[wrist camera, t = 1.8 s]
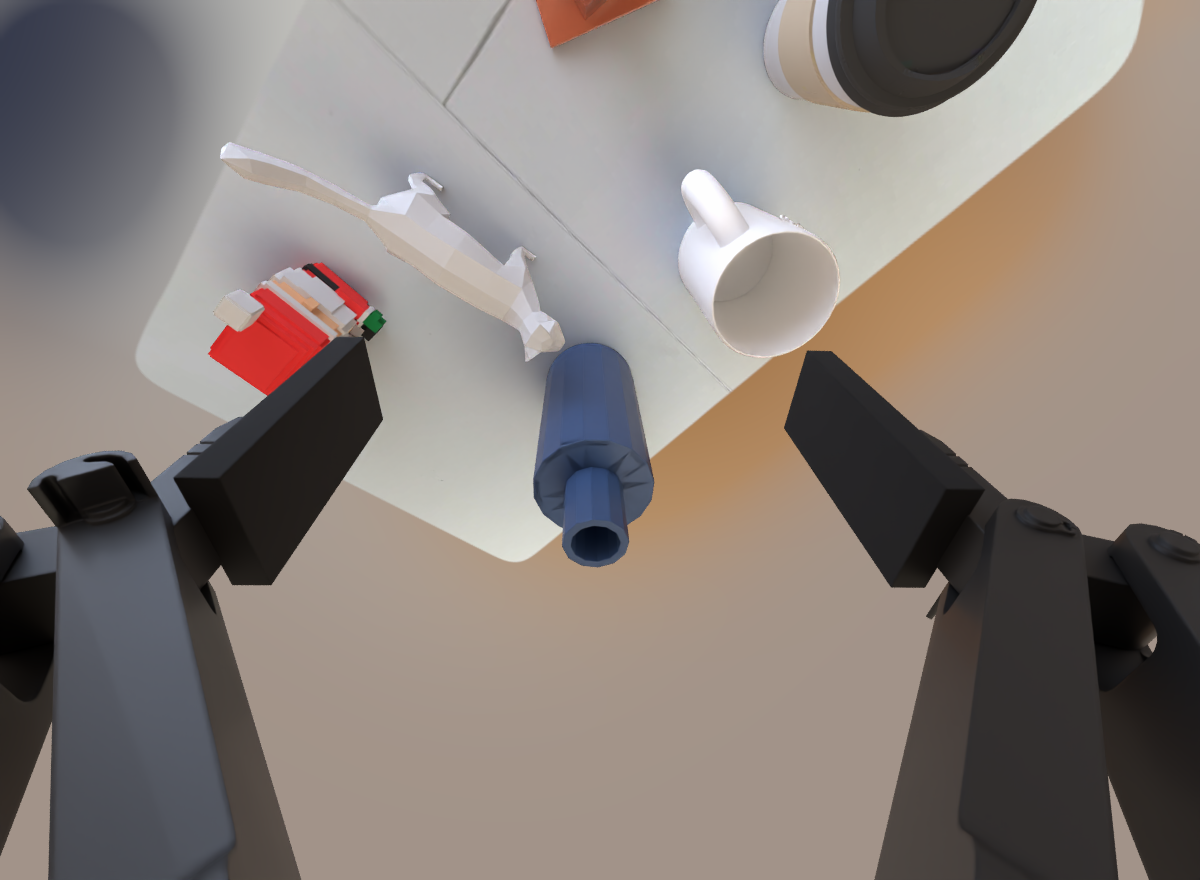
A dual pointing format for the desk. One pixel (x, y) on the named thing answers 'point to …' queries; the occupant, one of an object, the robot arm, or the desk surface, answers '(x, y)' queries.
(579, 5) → the terracotta block
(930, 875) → the robot arm
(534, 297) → the cat figurine
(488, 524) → the desk surface
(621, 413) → the blue bottle
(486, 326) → the desk surface
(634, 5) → the orange flat plate
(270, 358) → the figurine
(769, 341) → the mug
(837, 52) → the coffee cup
